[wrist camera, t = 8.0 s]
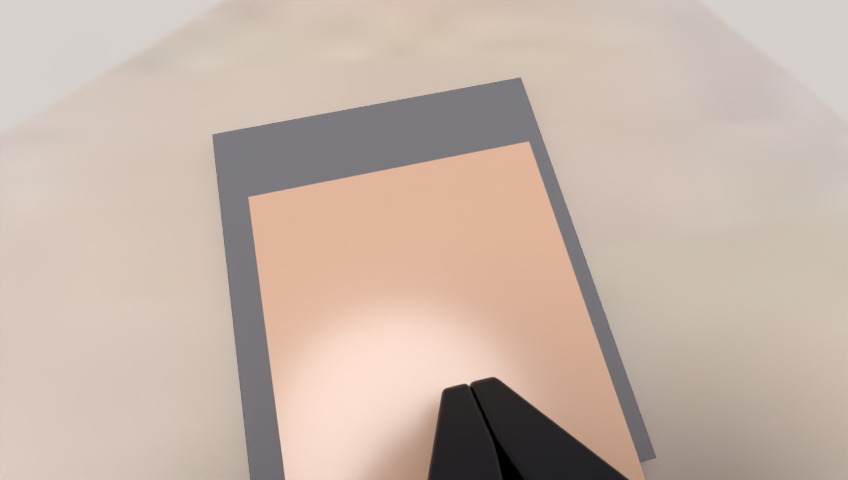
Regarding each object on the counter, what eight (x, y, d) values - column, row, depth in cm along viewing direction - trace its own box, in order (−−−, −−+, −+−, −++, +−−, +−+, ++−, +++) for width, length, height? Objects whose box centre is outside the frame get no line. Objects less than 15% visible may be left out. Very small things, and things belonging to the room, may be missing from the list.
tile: (661, 524, 11) (529, 141, 14) (304, 627, 10) (248, 196, 14) (617, 505, 14) (512, 180, 17) (324, 587, 13) (272, 229, 16)
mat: (649, 456, 14) (656, 457, 14) (264, 560, 13) (259, 565, 13) (518, 84, 18) (520, 77, 18) (216, 140, 17) (212, 134, 17)
